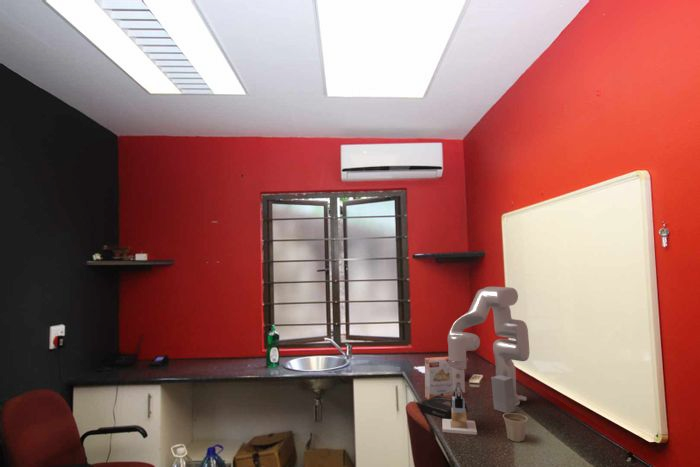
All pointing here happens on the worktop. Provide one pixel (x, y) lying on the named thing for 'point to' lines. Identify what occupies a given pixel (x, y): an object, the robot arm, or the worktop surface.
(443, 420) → the board
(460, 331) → the robot arm
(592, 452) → the worktop surface
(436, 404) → the portable cd player
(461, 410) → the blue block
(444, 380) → the cracker box
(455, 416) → the oak block
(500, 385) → the skincare box
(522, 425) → the flower pot
